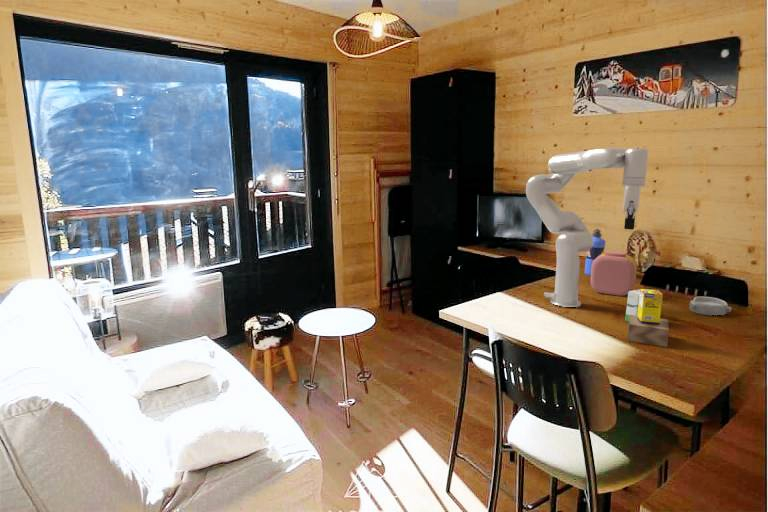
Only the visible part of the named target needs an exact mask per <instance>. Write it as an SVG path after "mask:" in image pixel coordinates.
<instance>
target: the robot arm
mask: <svg viewBox="0 0 768 512" xmlns="http://www.w3.org/2000/svg"><path fill="white" fill-rule="evenodd" d="M648 156H649V151H648V149H647V148H645V147H641V148H640V147H637V148H635V147H634V148H633V147H632V148H623V147H622V148H619V147H604V148H596V149H595V148H594V149H589V150H583V151H575V152H567V153H559V154H556V155H553V156H552V157H550V158H549V160H548V162H547V169H548V171H549V172H551V174H550V173H549V174H546V173H545V174H543V173H542V174H536V175H533V176H531V177H530V178H529V179H528V181H527V183H526V187H525V196H526V198H527V201H528V202H529V204H530V205H531V206H532V207H533V209H534V210H535V211H536V213H537V214H538V216H539V218H540V219H541V221H542V223H543V224H544V225H545V227H546V229H547V230H548V231H549V232H550V233H551V234H560V235H559V236H558V237H557V238H556V240H555V252H556V263H555V264H556V265H555V266H556V267H555V269H556V270H555V280H554V281H555V282H554V292H545V291H544V293H543V297H544V298H547V299H548V298H549V302H551V303H552V304H551V303H550V304H551V305H553V304H554V305H553V306H555V305H558V306H557V307H559V306H562V307H561V308H565V307H576V308H579V307H581V306H582V303H581V301H580V300H578V299H579V285H580V284H579V283H580V272H581V261H580V256H579V254H581V253H585V252H586V253H587V251H589V250H590V249H591V248H592V246H593V242H594V241H593V236H592V234H591V232H590V230H589V229H588V227H587V226H586V224H585V223H584V222H583V221H582V219H581V217H580V216H579V215H578V214H577V213H575V212H574V211H571V210H564V211H563V210H561V209H560V208H559V206H558V205H557V204H556V202H555V201H554V200H553V199H552V198H550V196H548V195H549V194H557V193H558V192H560V191H562V190H563V189H564V187H565V186H567V185H568V183H569V182H570V181H571V180H572V178H574V176H575V175H576V174H579V173H580V174H581V173H586V172H587V171H590V170H591V171H592V170H597V169H598V170H599V169H600V170H601V169H602V170H603V169H623V171H622V172H623V175H622V185H621V186H622V187H624V193H623V201H622V213H623V214H624V213H626V214H625V218H624V230H634V228H635V221H636V215H635V214H637V212H638V209H639V204H640V199H641V191H642V190H641V189H642V187H645V186H646V176H647V167H648V160H649V159H648V158H649V157H648Z"/></svg>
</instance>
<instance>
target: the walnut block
mask: <svg viewBox="0 0 768 512" xmlns="http://www.w3.org/2000/svg"><path fill="white" fill-rule="evenodd" d="M627 328H628V329H627V339H626V341H627V342H632V343H639V344H644V345H645V344H647V345H654V346H659V347H665V348H668V342H669V334H670V328H669V321H668V319H666V318H660V324H659V325H657V324H645V323H641V322H640V321H639V320H638V319H637V316H635V315H630V316H629V322H628V327H627Z"/></svg>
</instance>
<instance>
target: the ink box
mask: <svg viewBox="0 0 768 512" xmlns="http://www.w3.org/2000/svg"><path fill="white" fill-rule="evenodd" d="M639 295H640V289H634V290H633V289H632V291H629V292H628V294H627V301H626V310H625V317H624V321H626V322H627V323H629V316H630V315H635V316H637V314H638V305H639Z"/></svg>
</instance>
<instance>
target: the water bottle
mask: <svg viewBox="0 0 768 512" xmlns="http://www.w3.org/2000/svg"><path fill="white" fill-rule="evenodd" d="M601 232H602V231H601V229H598V228H595V229H594V230H593V231H592V234H591V235H592V237H593V241H594V242H593V246H592V248H591V249H590V250H589V251H586V256H585V263H584V275H585V276H590V277H591V267H592V263H593V261H594V260H595V259H596V258H597V257H598V256H599V255H601V254H603V253H605V252H604V251H605V247H606V240H605V239H604V238H602V233H601Z"/></svg>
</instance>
